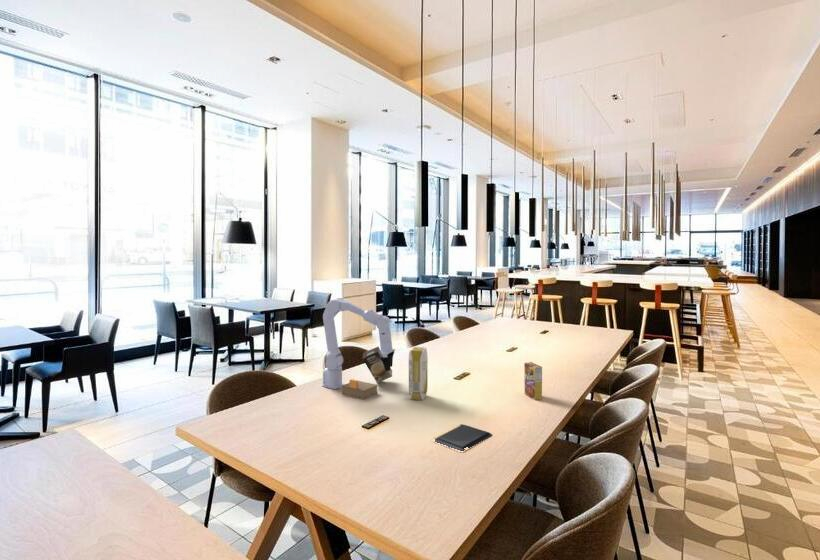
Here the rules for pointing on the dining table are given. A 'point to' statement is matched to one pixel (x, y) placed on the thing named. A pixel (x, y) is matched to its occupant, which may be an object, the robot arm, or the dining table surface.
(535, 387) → the candy box
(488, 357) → the dining table surface
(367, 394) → the carton
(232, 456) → the dining table surface
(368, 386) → the lid
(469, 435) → the wallet
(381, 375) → the coffee box
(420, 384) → the juice carton
